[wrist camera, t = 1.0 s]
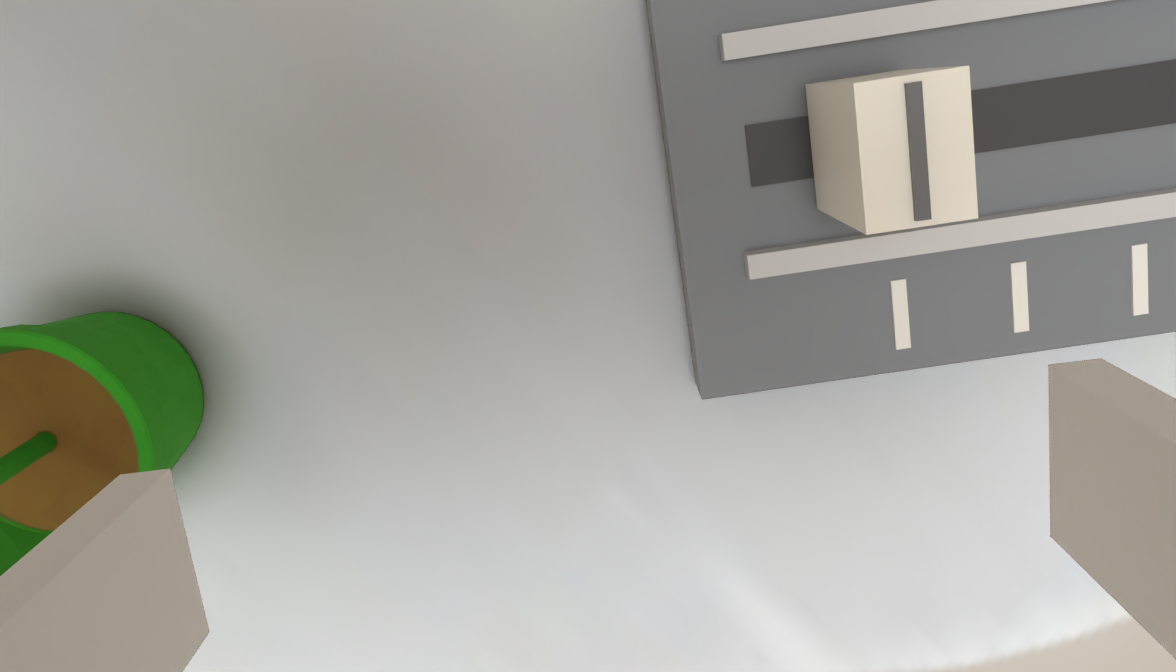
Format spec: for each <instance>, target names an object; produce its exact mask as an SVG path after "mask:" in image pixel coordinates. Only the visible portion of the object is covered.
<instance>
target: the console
mask: <svg viewBox="0 0 1176 672" xmlns="http://www.w3.org/2000/svg"><path fill="white" fill-rule="evenodd" d="M646 4H647V12H648V20H649V27H650V35H651V43H652V50H653V58H654V66H655V73H656V81H657V89H658V96H659V104H660V112H661V119H662V127H663V135H664V142H665V150H666V158H667V165H668V173H669V181H670V188H671V196H672V204H673V211H674V219H675V227H676V234H677V242H678V249H679V257H680V265H681V272H682V280H683V288H684V295H685V303H686V311H687V318H688V326H689V334H690V341H691V349H692V357H693V364H694V372H695V380H696V385H697V387H698V390H699V393H700V396H701V398H702V399H709V398H716V397H723V396H730V395H737V394H744V393H751V392H758V391H765V390H772V389H779V388H786V387H793V386H800V385H807V384H814V383H821V382H828V381H835V380H842V379H849V378H856V377H863V376H869V375H876V374H883V373H890V372H897V371H904V370H911V369H918V368H925V367H932V366H939V365H946V364H953V363H960V362H967V361H974V360H981V359H988V358H995V357H1002V356H1009V355H1016V354H1023V353H1030V352H1037V351H1044V350H1051V349H1058V348H1065V347H1071V346H1078V345H1085V344H1092V343H1099V342H1106V341H1113V340H1120V339H1127V338H1134V337H1141V336H1148V335H1155V334H1162V333H1169V332H1176V0H646ZM953 66H969V69H970V86H971V103H972V120H973V137H974V154H975V171H976V188H977V205H978V218H977V219H971V220H964V221H957V222H950V223H944V224H937V225H930V226H924V227H917V228H910V229H903V230H897V231H890V232H883V233H876V234H870V235H865V234H864V233H862V232H860V231H858V230H856V229H854V228H852V227H850V226H848V225H846V224H845V223H843V222H841V221H839V220H837V219H835V218H833V217H831V216H829V215H827V214H826V213H824V212H822V211H820V210H818V209H817V202H816V192H815V181H814V171H813V161H812V150H811V140H810V130H809V119H808V109H807V98H806V88H805V84H811V83H817V82H824V81H830V80H836V79H843V78H849V77H856V76H862V75H869V74H875V73H882V72H888V71H895V70H904V69H920V68H937V67H953Z"/></svg>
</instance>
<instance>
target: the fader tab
mask: <svg viewBox="0 0 1176 672" xmlns="http://www.w3.org/2000/svg"><path fill="white" fill-rule="evenodd" d="M805 88H806V98H807V109H808V119H809V130H810V140H811V150H812V161H813V171H814V181H815V192H816V202H817V209H818V210H820V211H822V212H824V213H826V214H827V215H829V216H831V217H833V218H835V219H837V220H839V221H841V222H843V223H845V224H846V225H848V226H850V227H852V228H854V229H856V230H858V231H860V232H862V233H864V234H865V235H870V234H876V233H883V232H890V231H897V230H903V229H910V228H917V227H924V226H930V225H937V224H944V223H950V222H957V221H964V220H971V219H977V218H978V205H977V188H976V171H975V154H974V137H973V120H972V103H971V86H970V69H969V66H953V67H937V68H920V69H904V70H895V71H888V72H882V73H875V74H869V75H862V76H856V77H849V78H843V79H836V80H830V81H824V82H817V83H811V84H805Z"/></svg>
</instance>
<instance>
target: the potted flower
mask: <svg viewBox="0 0 1176 672" xmlns="http://www.w3.org/2000/svg"><path fill="white" fill-rule="evenodd" d="M202 411H203V391H202V387H201V383H200V379H199V375H198V373H197V370H196V368H195V366H194V364H193V362H192V360H191V358H190V357H189V356H188V354H187V353H186V351H185V350H184V349H183V347H182V346H181V345H180V344H179V343H178V342H177V341H176V340H175V339H174V338H173V337H172V336H171V335H170V334H169V333H167V332H166V331H164V330H163V329H161V328H160V327H158V326H157V325H155V324H154V323H152V322H149V321H147V320H145V319H142V318H140V317H138V316H134V315H129V314H125V313H121V312H98V313H92V314H86V315H82V316H77V317H73V318H69V319H64V320H60V321H56V322H52V323H47V324H43V325H15V326H9V327H3V328H0V576H1V575H2V574H4V573H5V572H6V571H7V570H8V569H9V568H11V567H12V566H13V565H14V564H15V563H17V562H18V561H19V560H20V559H21V558H22V557H24V556H25V555H26V554H27V553H28V552H29V551H31V550H32V549H33V548H34V547H35V546H37V545H38V544H39V543H40V542H41V541H42V540H44V539H45V538H46V537H47V536H48V535H50V534H51V533H52V532H53V531H54V530H55V529H57V528H58V527H59V526H60V525H61V524H62V523H64V522H65V521H66V520H67V519H68V518H70V517H71V516H72V515H73V514H74V513H75V512H77V511H78V510H79V509H80V508H81V507H82V506H84V505H85V504H86V503H87V502H88V501H90V500H91V499H92V498H93V497H94V496H95V495H97V494H98V493H99V492H100V491H101V490H102V489H104V488H105V487H106V486H107V485H108V484H110V483H111V482H112V481H113V480H114V479H115V478H117V477H118V476H119V475H120V474H129V473H137V472H146V471H154V470H162V469H170V470H171V469H172V468H173V466H174V465H175V464H176V462H177V461H178V460H179V458H180V457H181V455H182V454H183V453H184V451H185V450H186V449H187V447H188V446H189V444H190V443H191V441H192V440H193V438H194V437H195V435H196V433H197V430H198V427H199V425H200V422H201V417H202Z"/></svg>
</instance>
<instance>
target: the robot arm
mask: <svg viewBox="0 0 1176 672" xmlns="http://www.w3.org/2000/svg"><path fill="white" fill-rule="evenodd" d="M1048 367H1049V458H1050V537H1052V538H1053V539H1054V540H1055V541H1056V542H1057V543H1058V544H1059V545H1060V546H1061V547H1062V548H1063V549H1064V550H1065V551H1066V552H1067V553H1068V554H1069V555H1070V556H1071V557H1072V558H1073V559H1074V560H1075V561H1076V562H1077V563H1078V564H1079V565H1080V566H1081V567H1082V568H1083V569H1084V570H1085V571H1086V572H1087V573H1088V574H1089V575H1090V576H1091V577H1092V578H1093V579H1094V580H1095V581H1096V582H1097V583H1098V584H1099V585H1100V586H1101V587H1102V588H1104V589H1105V590H1106V591H1107V592H1108V593H1109V594H1110V595H1111V596H1112V597H1113V598H1114V599H1115V600H1116V601H1117V602H1118V603H1119V604H1120V605H1121V606H1122V607H1123V608H1124V609H1125V610H1126V611H1127V612H1128V613H1129V614H1130V615H1131V616H1132V617H1133V618H1134V619H1135V620H1136V621H1137V622H1138V623H1139V624H1140V625H1141V626H1142V627H1143V628H1144V629H1145V630H1146V631H1147V632H1148V633H1150V634H1151V636H1153V638H1155V639H1156V640H1157V641H1158V642H1159V643H1160V644H1161V645H1162V646H1163V647H1164V648H1165V649H1166V650H1167V651H1168V652H1169V653H1170V654H1171V655H1172V656H1173V657H1174V658H1175V659H1176V399H1175V398H1173V397H1171V396H1170V395H1168V394H1166V393H1164V392H1162V391H1160V390H1159V389H1157V388H1155V387H1153V386H1151V385H1149V384H1147V383H1146V382H1144V381H1142V380H1140V379H1138V378H1136V377H1134V376H1133V375H1131V374H1129V373H1127V372H1125V371H1123V370H1121V369H1120V368H1118V367H1116V366H1114V365H1112V364H1110V363H1108V362H1107V361H1105V360H1103V359H1092V360H1084V361H1076V362H1067V363H1059V364H1050V365H1048ZM208 633H209V628H208V623H207V619H206V615H205V611H204V607H203V603H202V599H201V594H200V590H199V586H198V582H197V578H196V574H195V570H194V565H193V561H192V557H191V553H190V549H189V545H188V541H187V536H186V532H185V528H184V524H183V520H182V516H181V512H180V507H179V503H178V499H177V495H176V491H175V487H174V483H173V478H172V474H171V470H170V469H162V470H154V471H146V472H137V473H129V474H120V475H119V476H118V477H117V478H115V479H114V480H113V481H112V482H111V483H110V484H108V485H107V486H106V487H105V488H104V489H102V490H101V491H100V492H99V493H98V494H97V495H95V496H94V497H93V498H92V499H91V500H90V501H88V502H87V503H86V504H85V505H84V506H82V507H81V508H80V509H79V510H78V511H77V512H75V513H74V514H73V515H72V516H71V517H70V518H68V519H67V520H66V521H65V522H64V523H62V524H61V525H60V526H59V527H58V528H57V529H55V530H54V531H53V532H52V533H51V534H50V535H48V536H47V537H46V538H45V539H44V540H42V541H41V542H40V543H39V544H38V545H37V546H35V547H34V548H33V549H32V550H31V551H29V552H28V553H27V554H26V555H25V556H24V557H22V558H21V559H20V560H19V561H18V562H17V563H15V564H14V565H13V566H12V567H11V568H9V569H8V570H7V571H6V572H5V573H4V574H2V575H1V576H0V672H183V670H184V669H185V667H186V666H187V664H188V663H189V661H190V660H191V659H192V657H193V656H194V654H195V653H196V651H197V650H198V648H199V647H200V645H201V644H202V642H203V641H204V639H205V638H206V636H207V635H208Z"/></svg>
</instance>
